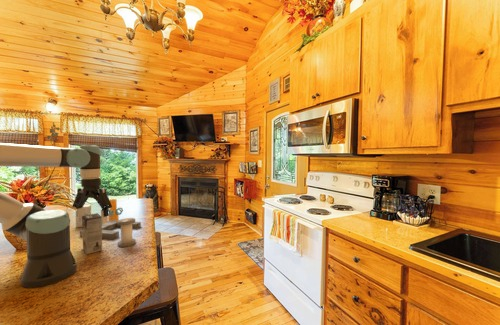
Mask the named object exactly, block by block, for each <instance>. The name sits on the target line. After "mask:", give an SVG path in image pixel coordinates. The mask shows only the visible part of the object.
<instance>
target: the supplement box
mask: <svg viewBox="0 0 500 325" xmlns="http://www.w3.org/2000/svg"><path fill="white" fill-rule="evenodd" d="M82 208H84V216H85V215H90V214H92V204H84V205H83V207H82ZM80 227H81V228H82V222H79V223H78V215H77V211H76V210H75V228H80Z"/></svg>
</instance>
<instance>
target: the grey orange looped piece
mask: <svg viewBox="0 0 500 325" xmlns="http://www.w3.org/2000/svg"><path fill="white" fill-rule="evenodd" d="M109 200H110V202H111V205H112V208H109V209H108V221H110V220H117V221H118V220H120V219H119V218H120V217H119V216H120V215H122V213H123V211H124V209H123V208H122V207H117V205H118V204H117V202H118V201H117V198H113V199H112V198H111V199H109Z"/></svg>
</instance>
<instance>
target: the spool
mask: <svg viewBox="0 0 500 325" xmlns="http://www.w3.org/2000/svg"><path fill="white" fill-rule="evenodd" d="M135 222H136V218H134V217H128V218H127V217H125V218H122V219H119V220H118V221H117V224H118V225H121V228H120V240H119V241H118V242H117V247H119V248H127V247H131V246H133V245H135V244H136V243H137V240H136V239H135V238H133V229H132V223H135Z"/></svg>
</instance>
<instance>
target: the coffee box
mask: <svg viewBox="0 0 500 325" xmlns="http://www.w3.org/2000/svg"><path fill="white" fill-rule="evenodd" d="M81 228H82V229H81V230H82V232H83V237H82V249H83V251H84V252H85V254H86V255H89V254H92V253H96V252H100V251H103V238H102V224H101V214H99V213H97V212H96V213H91V214H90V215H85V216H82V227H81Z"/></svg>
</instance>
